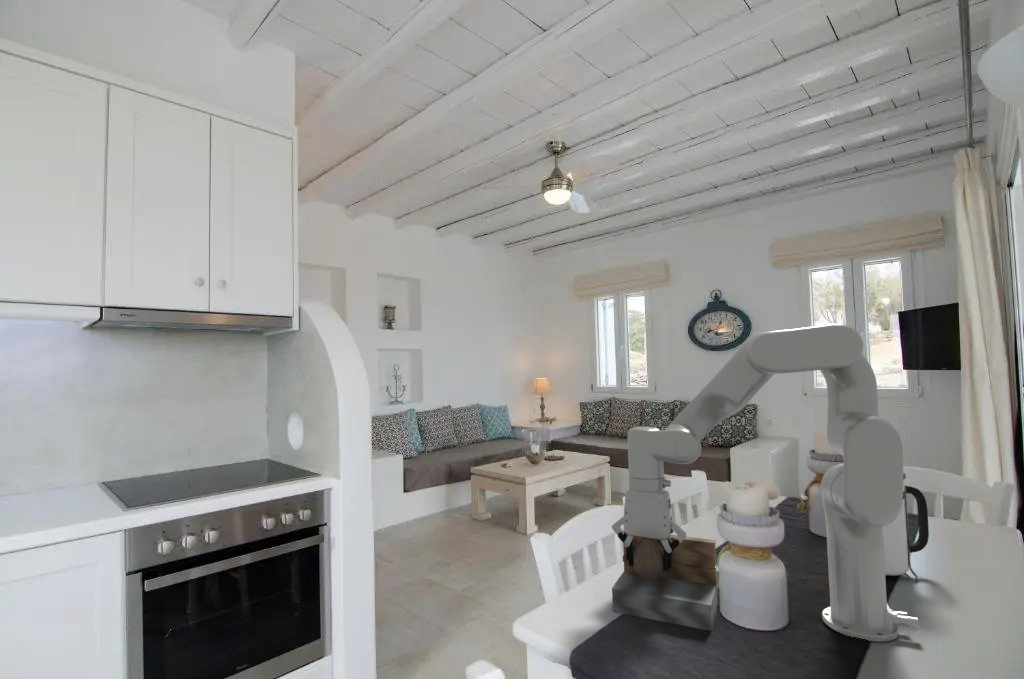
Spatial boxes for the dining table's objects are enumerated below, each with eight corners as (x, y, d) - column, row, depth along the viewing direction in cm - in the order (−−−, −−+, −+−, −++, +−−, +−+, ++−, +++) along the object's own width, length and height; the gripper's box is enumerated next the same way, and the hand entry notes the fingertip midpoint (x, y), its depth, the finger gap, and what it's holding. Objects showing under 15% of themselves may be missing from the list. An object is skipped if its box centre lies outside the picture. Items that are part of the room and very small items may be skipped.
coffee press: (915, 593, 116) (907, 458, 118) (835, 573, 128) (828, 451, 130) (932, 571, 128) (924, 449, 129) (856, 554, 140) (850, 443, 141)
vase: (667, 584, 108) (666, 542, 109) (633, 582, 110) (632, 540, 110) (664, 571, 115) (663, 531, 116) (632, 569, 117) (631, 530, 117)
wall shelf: (718, 605, 113) (715, 540, 113) (712, 631, 102) (708, 558, 103) (627, 589, 122) (625, 529, 122) (612, 611, 111) (610, 545, 112)
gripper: (690, 483, 113) (693, 566, 112) (612, 477, 121) (615, 555, 120) (685, 491, 106) (688, 579, 105) (603, 484, 114) (605, 566, 113)
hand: (649, 565), depth 113 cm, fingers closed on vase, 7 cm apart
